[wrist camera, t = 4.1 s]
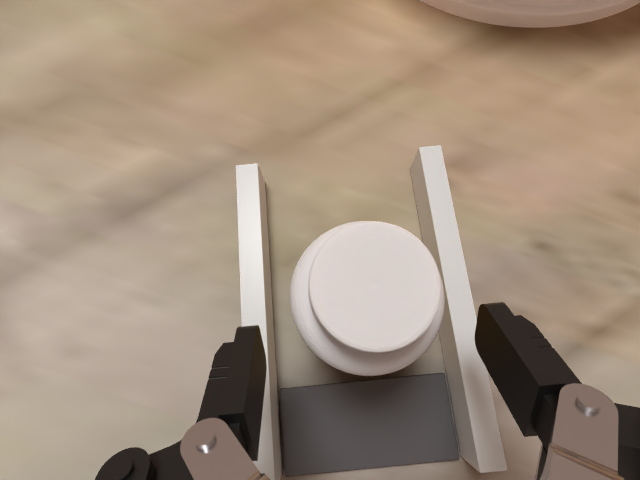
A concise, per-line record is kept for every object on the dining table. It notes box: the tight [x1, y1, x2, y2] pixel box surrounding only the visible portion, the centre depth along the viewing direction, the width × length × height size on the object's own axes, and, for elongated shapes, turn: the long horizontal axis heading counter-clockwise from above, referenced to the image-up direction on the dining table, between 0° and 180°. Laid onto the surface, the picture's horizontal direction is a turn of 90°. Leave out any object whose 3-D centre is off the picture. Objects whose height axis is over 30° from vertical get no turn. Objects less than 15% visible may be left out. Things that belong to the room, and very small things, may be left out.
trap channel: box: [236, 145, 507, 480], centre depth 20 cm, size 16×11×2 cm
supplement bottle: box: [290, 221, 445, 376], centre depth 16 cm, size 6×6×10 cm
